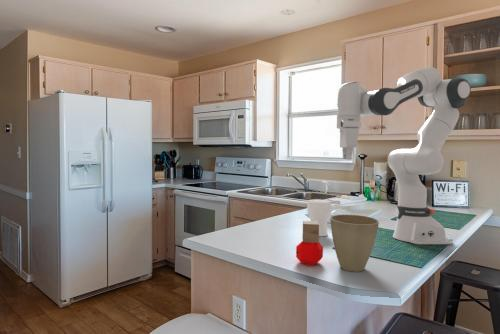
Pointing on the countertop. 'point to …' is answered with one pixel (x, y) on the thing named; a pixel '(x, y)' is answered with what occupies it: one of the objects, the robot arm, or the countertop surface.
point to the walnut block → (310, 231)
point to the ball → (309, 253)
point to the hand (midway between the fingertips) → (347, 159)
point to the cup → (320, 213)
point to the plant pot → (353, 240)
